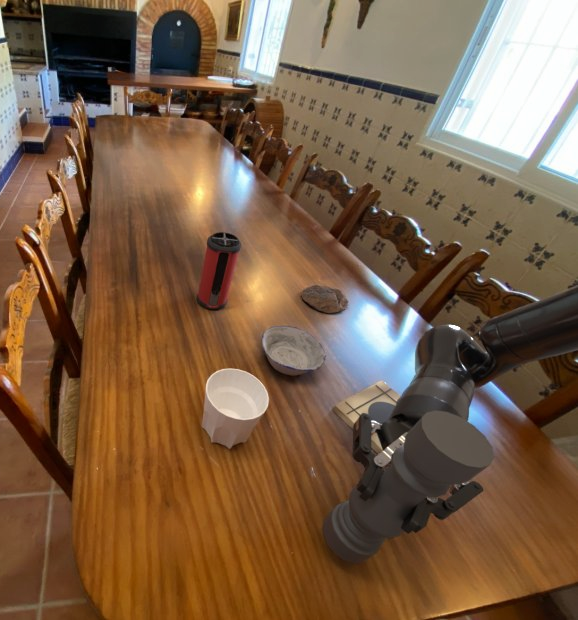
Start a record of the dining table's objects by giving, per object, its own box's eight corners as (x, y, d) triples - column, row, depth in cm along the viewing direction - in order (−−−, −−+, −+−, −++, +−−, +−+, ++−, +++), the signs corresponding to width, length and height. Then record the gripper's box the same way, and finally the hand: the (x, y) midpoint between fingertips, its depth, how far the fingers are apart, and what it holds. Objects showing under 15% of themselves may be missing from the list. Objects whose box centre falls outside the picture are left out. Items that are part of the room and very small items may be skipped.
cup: (248, 462, 59) (264, 428, 52) (190, 440, 61) (199, 406, 55) (256, 413, 66) (271, 379, 60) (204, 396, 68) (213, 361, 62)
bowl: (307, 342, 82) (315, 326, 79) (326, 387, 72) (335, 371, 69) (251, 337, 82) (257, 322, 79) (262, 382, 72) (269, 366, 69)
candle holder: (315, 538, 48) (411, 438, 32) (331, 502, 52) (425, 397, 36) (362, 576, 45) (495, 486, 29) (376, 535, 49) (500, 435, 33)
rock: (294, 288, 99) (297, 281, 97) (335, 288, 100) (338, 281, 98) (310, 314, 90) (313, 306, 88) (354, 314, 91) (358, 306, 89)
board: (446, 440, 64) (451, 436, 63) (399, 475, 59) (404, 470, 58) (377, 384, 74) (381, 379, 73) (331, 409, 68) (335, 404, 67)
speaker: (196, 308, 89) (208, 245, 77) (196, 290, 95) (207, 228, 83) (227, 312, 88) (243, 248, 77) (225, 293, 94) (240, 232, 83)
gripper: (386, 368, 49) (335, 448, 39) (513, 437, 42) (489, 556, 32) (363, 401, 54) (311, 480, 44) (473, 468, 47) (441, 580, 37)
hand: (386, 511), depth 38 cm, fingers closed on candle holder, 4 cm apart
